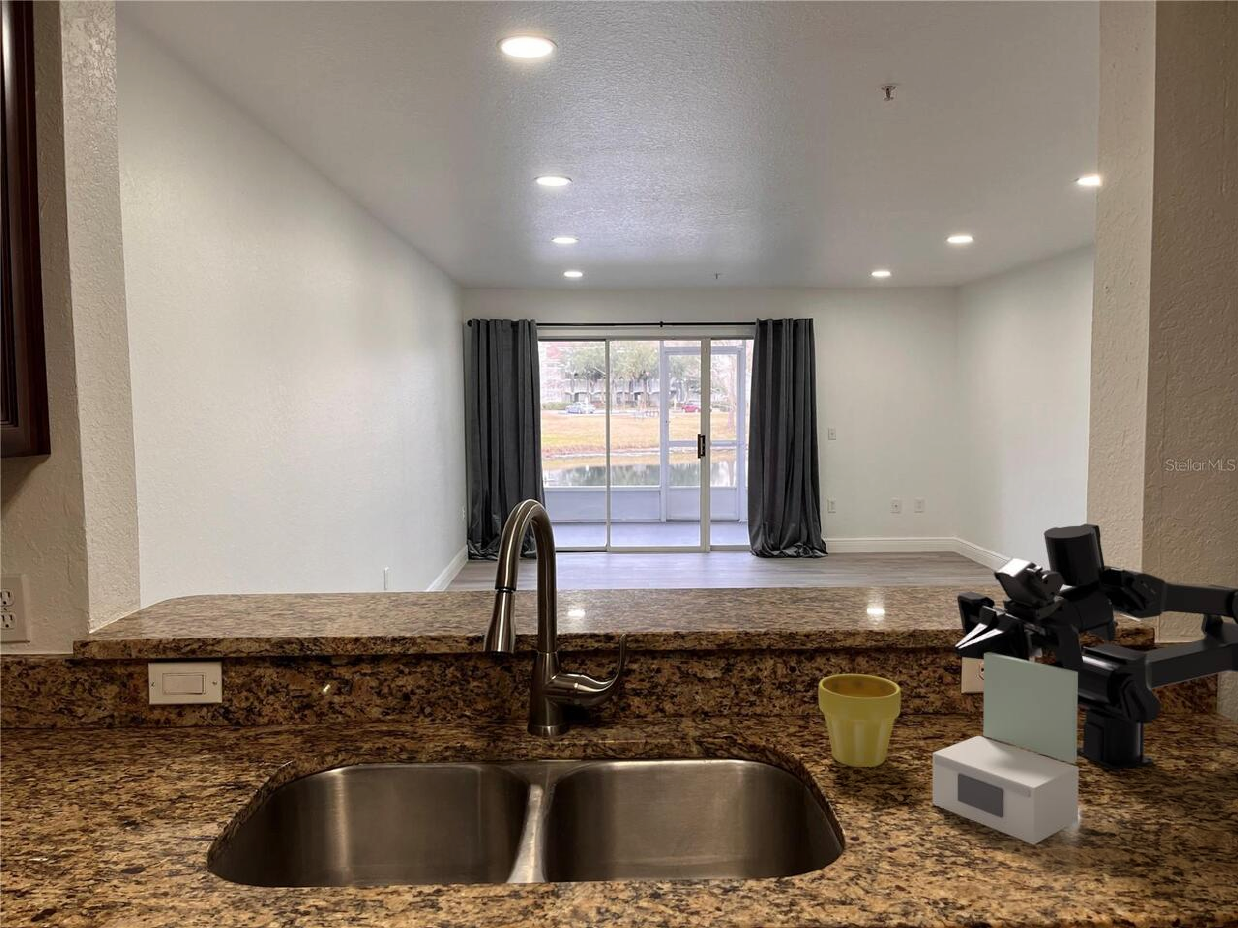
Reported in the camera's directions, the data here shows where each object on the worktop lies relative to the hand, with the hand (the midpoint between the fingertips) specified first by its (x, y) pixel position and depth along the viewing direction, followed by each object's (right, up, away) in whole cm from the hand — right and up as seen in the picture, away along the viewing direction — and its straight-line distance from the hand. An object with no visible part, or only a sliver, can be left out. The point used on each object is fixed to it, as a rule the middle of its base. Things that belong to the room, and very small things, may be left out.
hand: (957, 651), depth 105 cm
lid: (+6, -5, -6) cm, 9 cm away
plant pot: (-10, -16, +8) cm, 20 cm away
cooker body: (+2, -16, -8) cm, 18 cm away
